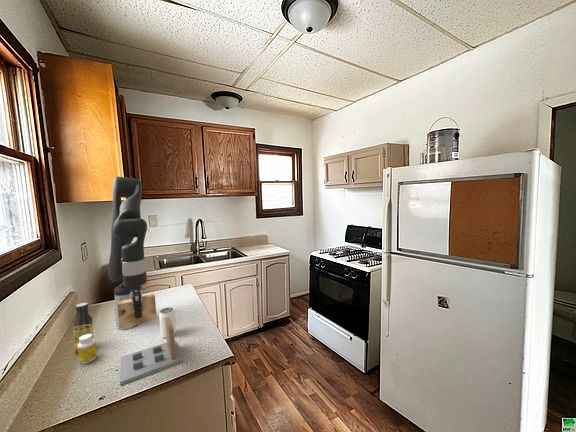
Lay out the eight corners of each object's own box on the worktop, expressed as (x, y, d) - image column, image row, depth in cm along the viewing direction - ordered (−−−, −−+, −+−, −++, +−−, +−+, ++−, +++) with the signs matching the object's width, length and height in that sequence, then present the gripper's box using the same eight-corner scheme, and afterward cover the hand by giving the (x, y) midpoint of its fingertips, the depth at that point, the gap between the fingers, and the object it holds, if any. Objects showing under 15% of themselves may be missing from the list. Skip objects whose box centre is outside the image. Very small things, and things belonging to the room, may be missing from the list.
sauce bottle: (73, 355, 101) (67, 309, 99) (77, 347, 106) (72, 303, 105) (92, 350, 104) (88, 305, 102) (96, 342, 109) (91, 300, 108)
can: (169, 339, 110) (168, 313, 109) (157, 338, 112) (155, 312, 111) (179, 331, 117) (177, 307, 116) (167, 330, 118) (165, 306, 117)
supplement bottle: (82, 365, 94) (79, 342, 93) (76, 361, 97) (74, 338, 96) (98, 357, 99) (96, 335, 98) (93, 353, 102) (90, 331, 101)
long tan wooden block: (119, 329, 88) (117, 305, 87) (119, 325, 91) (117, 301, 90) (157, 319, 94) (155, 297, 93) (156, 315, 98) (154, 293, 97)
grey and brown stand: (120, 385, 84) (117, 349, 83) (121, 359, 97) (118, 328, 96) (182, 361, 95) (180, 329, 94) (175, 342, 108) (173, 313, 107)
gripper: (147, 274, 88) (151, 320, 89) (145, 265, 99) (148, 306, 101) (122, 278, 84) (126, 327, 85) (123, 269, 95) (127, 311, 97)
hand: (138, 315), depth 93 cm, fingers closed on long tan wooden block, 3 cm apart
